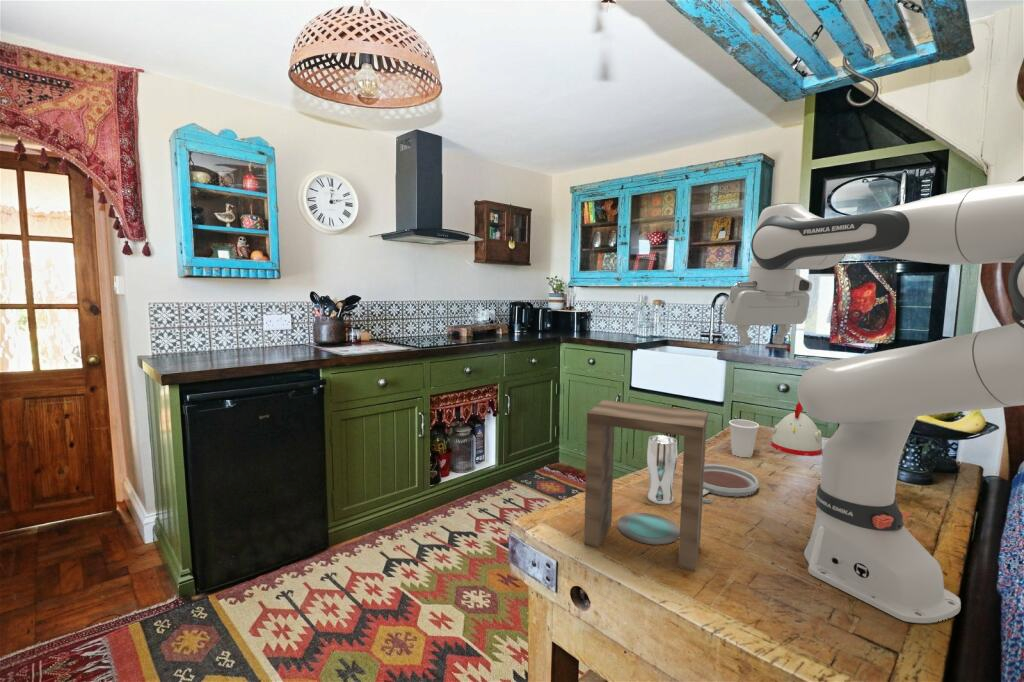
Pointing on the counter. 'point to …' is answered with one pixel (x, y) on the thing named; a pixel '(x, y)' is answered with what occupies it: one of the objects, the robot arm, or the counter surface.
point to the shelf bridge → (601, 476)
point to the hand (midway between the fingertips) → (761, 344)
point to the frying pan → (728, 481)
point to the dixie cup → (743, 437)
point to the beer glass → (661, 468)
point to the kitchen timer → (797, 435)
